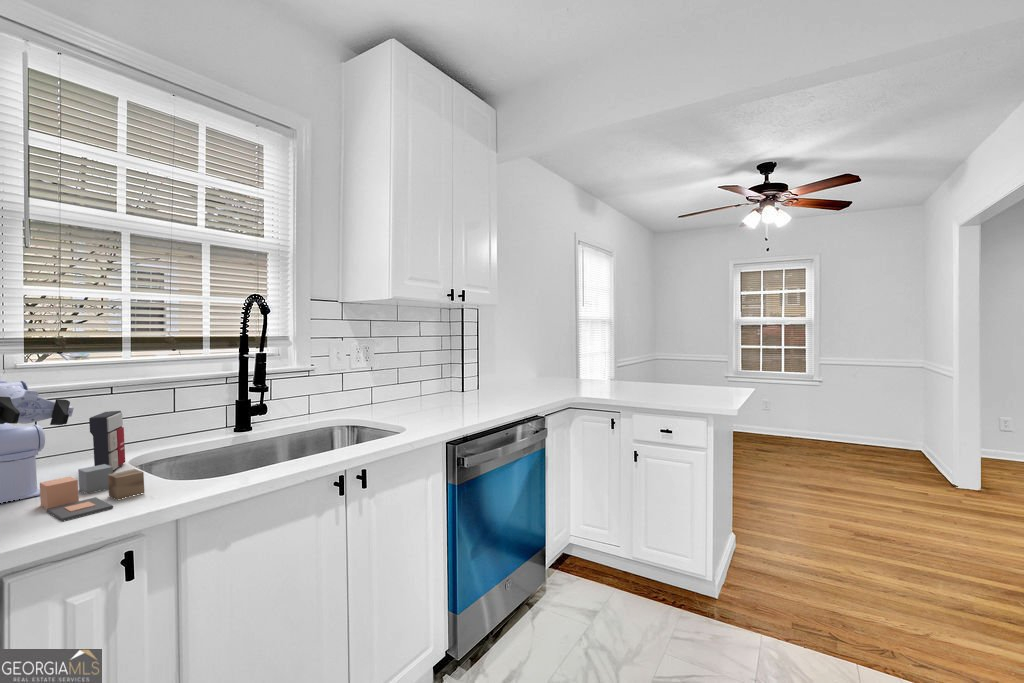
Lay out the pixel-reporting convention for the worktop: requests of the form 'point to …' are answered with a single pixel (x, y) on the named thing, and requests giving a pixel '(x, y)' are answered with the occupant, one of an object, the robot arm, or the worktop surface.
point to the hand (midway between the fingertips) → (41, 418)
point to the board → (79, 508)
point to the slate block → (94, 478)
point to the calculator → (108, 439)
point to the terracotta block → (59, 492)
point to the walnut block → (126, 483)
